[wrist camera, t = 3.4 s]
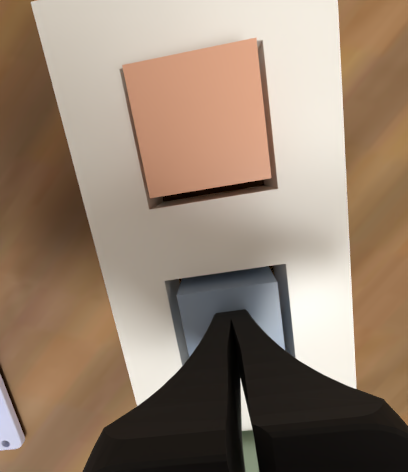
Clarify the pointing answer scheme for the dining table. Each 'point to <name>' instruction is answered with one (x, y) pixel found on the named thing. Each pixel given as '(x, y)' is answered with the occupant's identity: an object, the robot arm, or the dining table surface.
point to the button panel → (218, 204)
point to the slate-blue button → (230, 302)
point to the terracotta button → (200, 118)
